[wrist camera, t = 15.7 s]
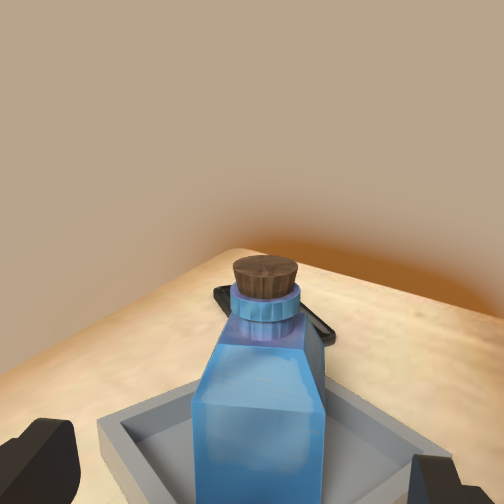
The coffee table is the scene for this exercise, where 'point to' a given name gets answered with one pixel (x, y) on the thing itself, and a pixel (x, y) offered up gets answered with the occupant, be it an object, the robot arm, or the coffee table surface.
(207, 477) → the perfume bottle
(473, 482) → the coffee table surface
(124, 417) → the grey tray
